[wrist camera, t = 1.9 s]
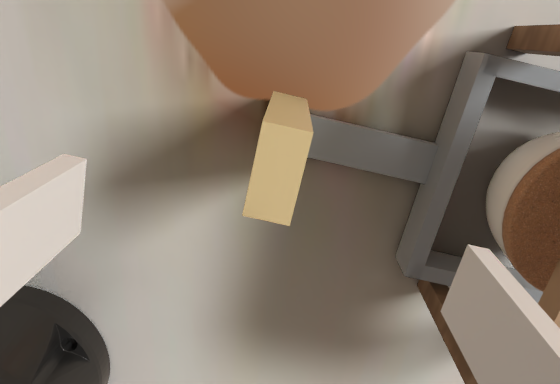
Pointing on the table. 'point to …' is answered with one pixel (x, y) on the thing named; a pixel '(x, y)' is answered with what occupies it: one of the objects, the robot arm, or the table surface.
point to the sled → (386, 159)
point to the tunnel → (556, 296)
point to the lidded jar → (528, 208)
